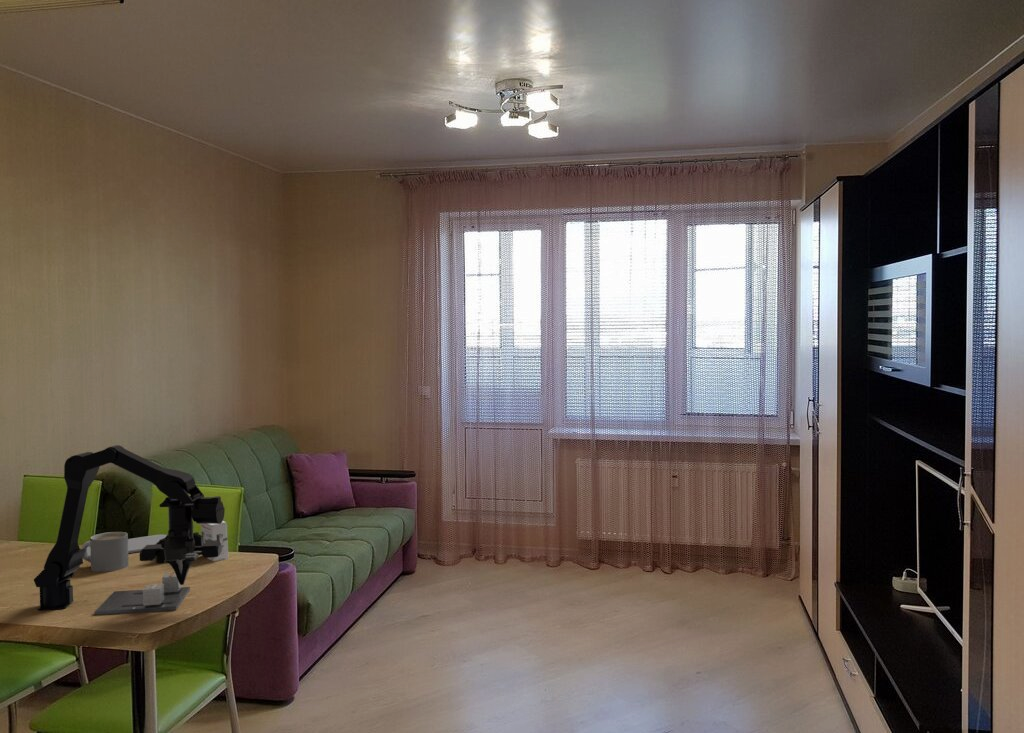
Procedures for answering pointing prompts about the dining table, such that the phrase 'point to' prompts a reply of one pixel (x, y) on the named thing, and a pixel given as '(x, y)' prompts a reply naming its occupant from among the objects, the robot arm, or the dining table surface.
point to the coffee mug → (107, 551)
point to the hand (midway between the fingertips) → (182, 584)
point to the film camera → (160, 559)
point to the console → (139, 602)
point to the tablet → (138, 543)
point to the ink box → (216, 537)
